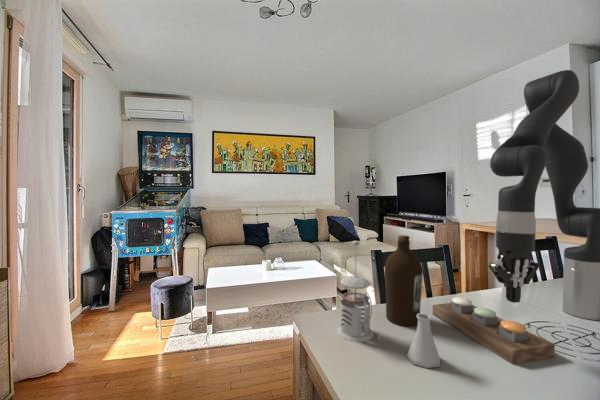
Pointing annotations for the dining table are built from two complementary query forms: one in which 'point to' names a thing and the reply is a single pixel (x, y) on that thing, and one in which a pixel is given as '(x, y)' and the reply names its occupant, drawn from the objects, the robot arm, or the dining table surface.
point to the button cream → (461, 305)
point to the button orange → (513, 331)
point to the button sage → (485, 317)
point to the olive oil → (403, 284)
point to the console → (495, 337)
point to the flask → (424, 344)
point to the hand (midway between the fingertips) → (513, 301)
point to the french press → (355, 309)
